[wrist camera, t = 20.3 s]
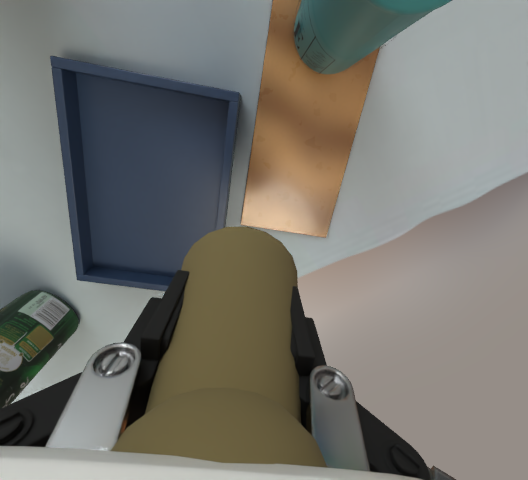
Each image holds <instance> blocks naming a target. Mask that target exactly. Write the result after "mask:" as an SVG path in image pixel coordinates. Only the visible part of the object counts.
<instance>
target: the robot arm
mask: <svg viewBox="0 0 528 480" xmlns="http://www.w3.org/2000/svg"><path fill="white" fill-rule="evenodd" d="M188 276H189V271H183V270H177V272H176V274H175V276H174V277H173V279H172V281H171V283H170V285H169V286H168V288H167V290H166V292H165V294H164V296H163V297H162V299H161V298H154V297H152V298H151V299H150V300H149V302H148V303H147V305H146V307H145V308H144V310H143V311H142V313H141V315H140V316H139V318H138V320H137V321H136V323H135V324H134V326H133V328H132V329H131V331H130V333H129V334H128V336H127V337H126V339H125V341H124V342H121V343H113V344H110V345H107V346H105V347H103V348H101V349H99V350H98V351H97V352H95V353H94V354H93V355H92V356H91V358H90V359H89V360H88V362H87V364H86V366H85V368H84V370H83V372H81V373H79V374H77V375H74V376H72V377H70V378H68V379H66V380H63V381H61V382H59V383H57V384H54V385H52V386H50V387H48V388H46V389H43V390H41V391H39V392H37V393H34V394H32V395H30V396H28V397H26V398H23V399H21V400H19V401H17V402H15V403H12V404H10V405H8V406H6V407H3V408H1V409H0V480H456V479H454V478H453V477H451V476H449V475H448V474H446V473H445V472H443V471H441V470H440V469H438V468H436V467H435V466H433V467H432V468H431V469H430V468H429V467H427V466H426V464H425V462H424V460H423V459H422V457H421V456H420V455H419V454H418V452H417V451H416V450H415V449H414V448H413V447H412V446H411V445H410V444H408V443H407V442H406V441H405V440H403V439H402V438H401V437H400V436H398V435H397V434H396V433H395V432H394V431H392V430H391V429H390V428H388V427H387V426H386V425H385V424H384V423H382V422H381V421H380V420H379V419H377V418H376V417H375V416H374V415H372V414H371V413H370V412H369V411H368V410H366V409H365V408H364V407H363V406H361V405H360V404H359V403H358V402H356V400H355V395H354V391H353V387H352V384H351V382H350V381H349V379H348V378H347V377H346V376H345V375H344V374H343V373H342V372H341V371H339V370H337V369H336V368H333V367H331V366H327V365H326V362H325V358H324V354H323V351H322V348H321V344H320V341H319V337H318V334H317V331H316V327H315V324H314V321H313V319H312V318H306V317H305V315H304V311H303V307H302V303H301V299H300V295H299V291H298V288H297V287H296V286H293V288H292V298H291V308H290V312H291V322H292V332H291V344H290V350H291V353H292V355H293V357H294V361H295V367H296V370H297V372H298V375H299V397H300V401H301V425H302V426H303V427H304V428H305V429H306V430H307V431H308V432H309V433H310V434H311V435H312V437H313V438H314V439H315V440H316V442H317V444H318V446H319V449H320V451H321V453H322V456H323V458H324V460H325V463H326V465H327V467H328V468H325V467H313V466H301V465H289V464H245V463H219V462H213V461H207V460H200V459H194V458H187V457H180V456H172V455H158V454H144V453H130V452H115V451H111V450H112V448H113V447H114V445H115V444H116V443H117V441H118V439H119V438H120V436H121V435H122V434H123V432H124V431H125V430H126V428H127V427H129V426H130V425H131V424H133V423H134V422H135V421H137V420H138V419H139V418H141V417H142V416H144V415H145V411H146V407H147V403H148V399H149V395H150V391H151V387H152V383H153V379H154V376H155V373H156V370H157V367H158V364H159V361H160V359H161V358H162V356H163V355H164V354H165V352H166V351H167V349H168V346H169V343H170V340H171V337H172V334H173V331H174V328H175V325H176V323H177V320H178V317H179V314H180V311H181V308H182V305H183V298H184V290H185V284H186V281H187V279H188Z"/></svg>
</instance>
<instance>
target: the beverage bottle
mask: <svg viewBox="0 0 528 480" xmlns="http://www.w3.org/2000/svg"><path fill="white" fill-rule="evenodd" d="M300 1H301V3H300V6H299V9H298V12H297V16H296V20H295V18H294V20H295V23H294V24H293V25H295V26H294V33H293V35H294V39H295V40H294V41H293V42H295V46H296V48H297V51H298V54H299V56H300V58H301V59H302V61H303V62H304V63H305V64H306V65H307V66H308V67H309V68H310V69H312V70H313V71H315V72H318V73H319V74H320V73H321V74H336V73H339V72H342V71H344V70H346V69H348V68H349V67H351V66H352V65H354V64H355V63H357V62H358V61H360V60H361V59H362V58H364V57H365V56H367V55H368V54H371V52H373V51H374V50H376V49H377V48H379V47H380V46H381V45H383V44H384V43H385V42H387V41H388V40H389V39H391V38H392V37H394V36H395V35H397V34H398V33H400V32H401V31H403V30H404V29H406V28H407V27H409V26H410V25H412V24H413V23H415V22H416V21H418V20H419V19H421V18H422V17H424V16H425V15H427V14H428V13H430V12H432V11H433V10H435V9H437V8H439V7H442V6H443V5H445V4H447V3H448V2H450V1H452V0H299V2H300ZM298 4H299V3H298ZM297 7H298V6H297ZM296 11H297V9H296ZM295 14H296V13H295ZM385 46H386V45H385ZM381 48H382V47H381ZM379 50H380V49H379ZM372 54H373V53H372ZM370 56H371V55H370ZM301 59H300V60H301ZM362 61H363V60H362ZM304 63H303V64H304ZM358 63H359V62H358ZM358 63H357V65H358ZM305 64H304V65H305ZM308 67H307V68H308ZM309 68H308V69H309ZM352 68H353V67H352ZM349 69H350V68H349ZM346 71H347V70H346ZM315 72H314V73H315ZM343 73H344V72H343Z"/></svg>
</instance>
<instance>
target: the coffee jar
mask: <svg viewBox="0 0 528 480" xmlns="http://www.w3.org/2000/svg"><path fill="white" fill-rule="evenodd" d="M78 324H79V321H78V318H77V315H76V314H75V313H74V311H73V310H72V308H71V307H70V306H69V305H68V304H67V303H66V302H64V301H63V300H62V299H60V298H59V297H57V296H55V295H53V294H50V293H48V292H45V291H40V290H35V291H30V292H27V293H25V294H23V295H21V296H20V297H18V298H16V299H15V300H14V301H12V302H11V303H9V304H8V305H7V306H5V307H4V308H2V309H1V310H0V409H1V408H3V407H6V406H8V405H10V404H11V403H12V402H13V401H14V400H15V398H16V397H17V396H18V395H19V394H20V393H21V392H22V391H23V389H24V388H25V387H26V386H27V385H28V384H29V382H30V381H31V380H32V379H33V378H34V377H35V376H36V374H37V373H38V372H39V371H40V370H41V369H42V368H43V367H44V365H45V364H46V363H47V362H48V361H49V360H50V359H51V358H52V356H53V355H54V354H55V353H56V352H57V351H58V350H59V349H60V348H61V346H62V345H63V344H64V343H65V342H66V341H67V340H68V339H69V338H70V336H71V335H72V334H73V333H74V332H75V331H76V329H77V327H78Z"/></svg>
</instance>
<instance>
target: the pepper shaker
mask: <svg viewBox="0 0 528 480" xmlns="http://www.w3.org/2000/svg"><path fill="white" fill-rule="evenodd" d="M181 270H183V271H189V276H188V279H187V281H186V284H185V290H184V298H183V305H182V308H181V311H180V314H179V317H178V320H177V323H176V325H175V328H174V331H173V334H172V337H171V340H170V343H169V346H168V349H167V351H166V352H165V354H164V355H163V356H162V358H161V359H160V361H159V364H158V367H157V370H156V373H155V376H154V379H153V383H152V387H151V391H150V395H149V399H148V403H147V407H146V411H145V415H144V416H142V417H141V418H139V419H138V420H137V421H135V422H134V423H133V424H131V425H130V426H129V427H127V428H126V430H125V431H124V432H123V434H122V435H121V436H120V438H119V439H118V441H117V443H116V444H115V445H114V447H113V448H112V450H111V451H115V452H130V453H144V454H158V455H172V456H180V457H187V458H194V459H200V460H207V461H213V462H219V463H245V464H289V465H301V466H313V467H325V468H328V467H327V465H326V463H325V460H324V458H323V456H322V453H321V451H320V449H319V446H318V444H317V442H316V440H315V439H314V438H313V437H312V435H311V434H310V433H309V432H308V431H307V430H306V429H305V428H304V427H303V426H302V425H301V401H300V397H299V375H298V372H297V370H296V367H295V361H294V357H293V355H292V353H291V350H290V344H291V332H292V322H291V312H290V308H291V298H292V288H293V286H296V287H297V288H298V286H297V270H296V267H295V264H294V260H293V257H292V255H291V254H290V253H289V252H288V250H287V249H286V248H285V246H284V245H283V244H282V243H281V242H280V241H278V240H277V239H275V238H274V237H272V236H271V235H269V234H268V233H266V232H264V231H260V230H257V229H253V228H250V227H225V228H222V229H219V230H216V231H213V232H210V233H208V234H206V235H205V236H204V237H202V238H201V239H200V240H198V241H197V242H196V243H194V244H193V246H192V247H191V249H190V250H189V252H188V253H187V255H186V256H185V258H184V261H183V265H182V269H181Z"/></svg>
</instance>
